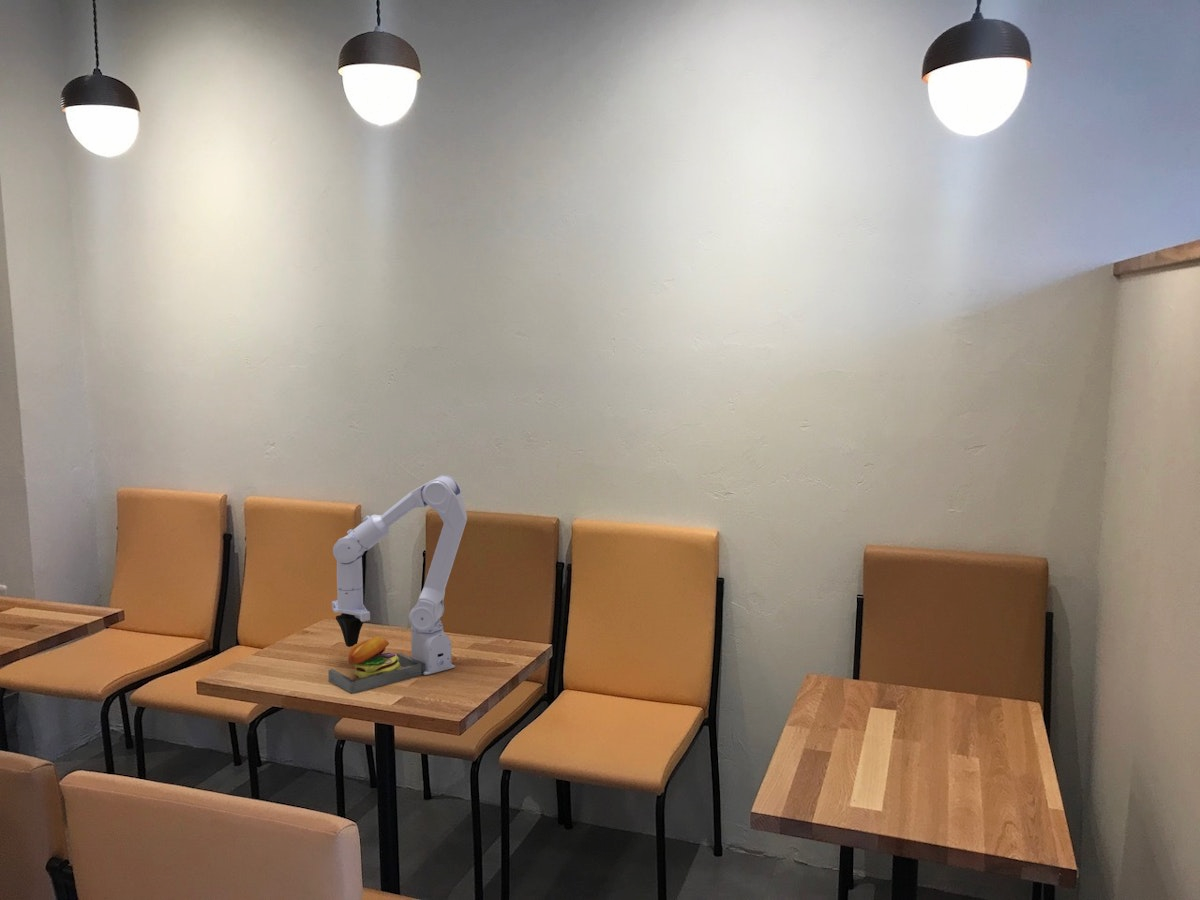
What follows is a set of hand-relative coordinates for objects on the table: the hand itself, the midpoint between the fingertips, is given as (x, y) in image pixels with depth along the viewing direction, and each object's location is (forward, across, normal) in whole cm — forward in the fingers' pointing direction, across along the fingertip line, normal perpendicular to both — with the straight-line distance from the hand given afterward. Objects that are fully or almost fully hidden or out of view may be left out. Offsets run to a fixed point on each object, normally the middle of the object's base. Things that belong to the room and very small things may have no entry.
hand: (351, 645), depth 216 cm
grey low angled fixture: (+5, +12, 0) cm, 13 cm away
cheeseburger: (+5, +11, 0) cm, 12 cm away
